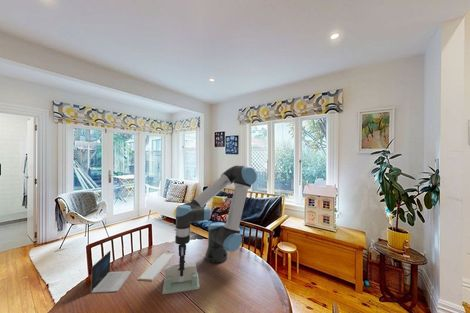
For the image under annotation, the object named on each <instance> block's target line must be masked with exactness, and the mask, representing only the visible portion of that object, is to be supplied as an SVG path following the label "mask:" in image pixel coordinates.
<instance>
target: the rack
mask: <svg viewBox="0 0 470 313" xmlns="http://www.w3.org/2000/svg"><path fill="white" fill-rule="evenodd" d="M195 290H200V280H199V274H198V271H196V273H192V280H187V281H184V282H173V283H171V276H167V277H166V284H165V278H164V279H163V286H162V292H161V293H162V295H167V294H174V293H181V292H186V291H187V292H188V291H189V292H190V291H195Z"/></svg>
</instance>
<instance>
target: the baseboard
mask: <svg viewBox="0 0 470 313" xmlns="http://www.w3.org/2000/svg"><path fill="white" fill-rule="evenodd" d="M174 256H175V253H174V251H173V252H170V251H169V250H167V251H166V252H163V253H161V254H160V256H158V257H157V259H156V260H154V262H153V263H152V264H151V265H150V266H149V267H148V268H147V269H146V270H145V271H144V272H143V273H142V274H141V275H140V276H139V277H138V278H137V279H136V280H137V281H148V282H149V281H150V282H153V281H154V280H155V279H156V277H157V276H158V275H159V274H160V272H161V271H162V270H163V269H165V267H166V266H167V264H168V263H169V262H170V261H171V259H172V258H173V257H174Z"/></svg>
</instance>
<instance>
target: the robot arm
mask: <svg viewBox="0 0 470 313" xmlns="http://www.w3.org/2000/svg"><path fill="white" fill-rule="evenodd" d="M257 175H258V174H257V172H256V169H255V168H254V167H252V166H249V165H234V166H231V167H230V168H228V169H226V170H225V171H223V172H222V173H221V174H220V177H219V178H218V179H216V180H215V181H214V182H213V183H212V184H210V185H209V186H207V188H205V189H204V190H202V191H201V192H200V193H199V194H198V195H196V197H194V198H192V200H191V201H188V202H185V203H183V204H182V205H178V206H177V207H176V211H175V228H174V231H175V239H174V240H175V244H176V245H178V256H179V269H178V270H179V282H184V269H185V268H184V264H186V260H185V256H186V253H187V251H186V250H187V244H189V243H190V239H191V235H190V234H191V223H196V222H201V221H202V222H203V221H207V220H209V219H210V218H211V215H212V214H211V209H210V207H209V206H205V205H207V204H208V203H209V202H210V201H211V200H212V199H214V197H216V196H217V195H218V194H220V193H221V192H222V190H224V189H225V188H227V186H231V185H232V184H233V185H234V190H233V193H232V194H233V195H232V198H231V202H230V206H229V210H228V213H227V218H226V222H222V221H221V222H219V221H218V222H212V223H210V224H209V225H208V229H207V230H208V234H207V236H208V238H207V240H208V241H207V243H208V244H207V245H208V246H207V248H206V251H205V257H204V258H205V260H206V261H207V262H209V263H212V264H218V263H219V264H220V263H224V262H225V261H227V260H228V255H229V254H228V252H229V253H234V252H236V251H237V250H238V249H239V248H240V247H241V245H242V242H243V238H242V235H241V228H240V223H241V220H242V216H243V212H244V206H245V202H246V199H247V195H248V192H249V190H250V189H251V187H252V185H254V184H255V182H257V178H258V176H257Z"/></svg>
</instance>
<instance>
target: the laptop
mask: <svg viewBox="0 0 470 313" xmlns="http://www.w3.org/2000/svg"><path fill="white" fill-rule="evenodd" d="M131 273H132V270H127V271H111V250H109V251H108V252H107V253H106V254H105V255H103V256H102V257H101V258H100V259H99V260H98V261H97V262H95V263H94V264H93V265H92V266H91V278H90V294H102V293H111V292H112V293H114V292H118V291H119V290H120V289H121V287H122V286H123V284H124V283H125V282H126V280H127V279H128V277H129V276H130V274H131Z"/></svg>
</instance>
